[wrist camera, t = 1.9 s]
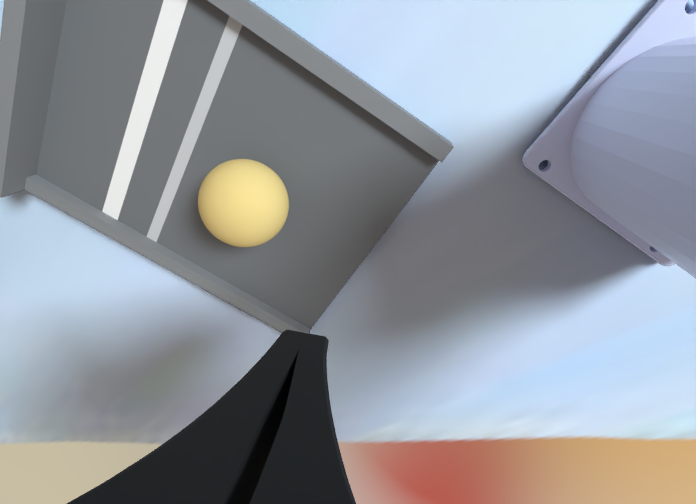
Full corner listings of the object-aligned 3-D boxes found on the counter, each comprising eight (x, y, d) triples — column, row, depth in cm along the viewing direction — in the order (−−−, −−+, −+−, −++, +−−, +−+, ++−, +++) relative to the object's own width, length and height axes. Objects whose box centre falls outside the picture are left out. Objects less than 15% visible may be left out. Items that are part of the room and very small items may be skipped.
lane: (450, 141, 17) (457, 153, 15) (306, 330, 23) (297, 359, 21) (78, -121, 14) (19, -154, 12) (29, 175, 20) (-15, 189, 18)
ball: (312, 179, 18) (291, 208, 14) (276, 239, 20) (250, 278, 16) (239, 133, 17) (199, 152, 14) (209, 200, 19) (167, 231, 16)
